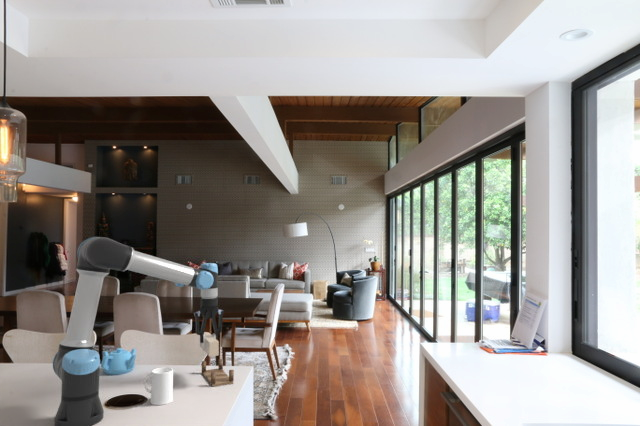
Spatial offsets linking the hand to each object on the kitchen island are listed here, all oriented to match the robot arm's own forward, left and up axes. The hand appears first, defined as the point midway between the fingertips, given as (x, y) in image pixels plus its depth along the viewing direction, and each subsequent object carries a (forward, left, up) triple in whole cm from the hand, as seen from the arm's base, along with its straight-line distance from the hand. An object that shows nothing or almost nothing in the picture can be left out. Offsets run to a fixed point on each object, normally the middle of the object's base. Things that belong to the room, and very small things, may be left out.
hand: (209, 349), depth 202 cm
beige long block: (0, 0, -1) cm, 1 cm away
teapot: (+31, +35, -14) cm, 49 cm away
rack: (0, -4, -14) cm, 14 cm away
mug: (-18, +23, -14) cm, 32 cm away
